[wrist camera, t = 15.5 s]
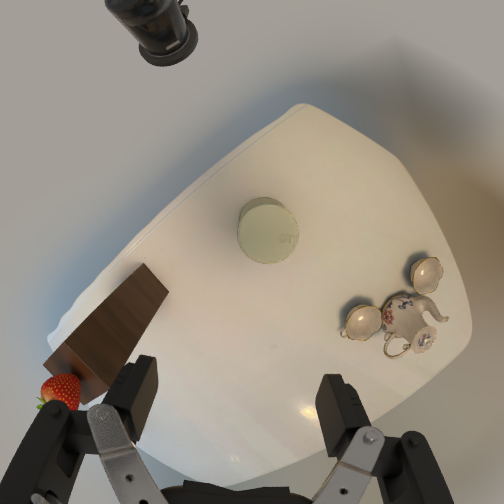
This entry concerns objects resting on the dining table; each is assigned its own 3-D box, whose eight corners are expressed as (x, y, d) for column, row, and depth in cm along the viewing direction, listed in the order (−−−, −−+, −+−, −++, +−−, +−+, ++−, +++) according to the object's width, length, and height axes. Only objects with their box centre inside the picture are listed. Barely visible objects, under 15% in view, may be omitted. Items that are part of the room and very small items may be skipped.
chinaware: (419, 236, 55) (461, 250, 39) (445, 288, 57) (484, 312, 41) (326, 314, 60) (344, 353, 43) (362, 359, 62) (383, 400, 45)
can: (282, 249, 54) (291, 270, 42) (235, 240, 53) (231, 259, 42) (293, 202, 52) (305, 211, 40) (244, 192, 51) (243, 198, 39)
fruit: (95, 396, 28) (71, 439, 20) (64, 386, 28) (38, 424, 20) (85, 365, 26) (54, 409, 19) (53, 355, 26) (21, 393, 19)
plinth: (143, 263, 54) (63, 341, 26) (169, 291, 56) (111, 388, 27) (120, 284, 56) (42, 364, 27) (144, 311, 57) (83, 405, 29)
